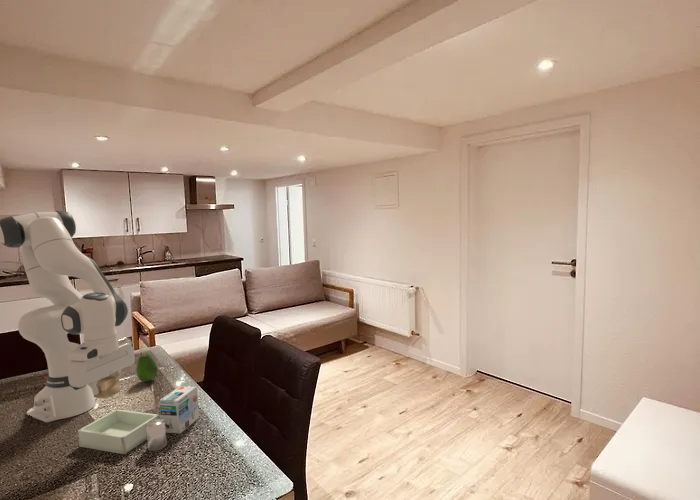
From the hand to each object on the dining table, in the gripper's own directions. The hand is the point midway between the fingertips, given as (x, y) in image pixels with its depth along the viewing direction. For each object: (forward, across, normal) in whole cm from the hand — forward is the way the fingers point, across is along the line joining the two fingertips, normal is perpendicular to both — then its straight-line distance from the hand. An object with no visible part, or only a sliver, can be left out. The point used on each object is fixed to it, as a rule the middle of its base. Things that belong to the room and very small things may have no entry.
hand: (106, 389), depth 124 cm
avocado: (+15, -38, -23) cm, 47 cm away
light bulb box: (+16, -11, +17) cm, 26 cm away
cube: (+2, 0, 0) cm, 2 cm away
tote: (+15, 0, +4) cm, 16 cm away
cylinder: (+15, +1, +19) cm, 24 cm away
